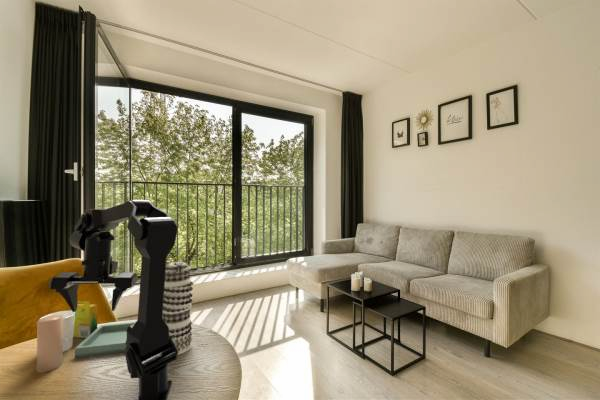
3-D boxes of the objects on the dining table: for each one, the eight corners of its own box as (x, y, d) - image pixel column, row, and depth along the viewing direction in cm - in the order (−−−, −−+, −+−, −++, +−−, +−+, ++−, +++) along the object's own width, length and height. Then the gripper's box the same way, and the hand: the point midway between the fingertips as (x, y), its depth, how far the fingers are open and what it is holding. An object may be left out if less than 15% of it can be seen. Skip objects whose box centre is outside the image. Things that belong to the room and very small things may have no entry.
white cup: (53, 358, 75) (54, 322, 76) (31, 355, 77) (32, 320, 77) (81, 344, 83) (82, 311, 83) (61, 341, 85) (61, 309, 85)
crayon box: (97, 334, 89) (98, 298, 90) (89, 338, 86) (89, 302, 87) (78, 332, 91) (78, 297, 91) (69, 337, 88) (70, 300, 88)
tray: (134, 350, 79) (135, 341, 79) (74, 357, 75) (75, 348, 76) (150, 328, 94) (150, 320, 94) (100, 333, 90) (100, 325, 90)
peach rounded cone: (55, 370, 70) (55, 321, 70) (31, 373, 69) (32, 323, 69) (66, 359, 75) (67, 314, 75) (44, 362, 73) (45, 316, 74)
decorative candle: (178, 358, 75) (178, 267, 75) (151, 354, 77) (151, 266, 78) (199, 342, 84) (199, 261, 84) (174, 338, 86) (174, 259, 86)
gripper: (144, 248, 84) (141, 298, 85) (73, 247, 79) (70, 299, 80) (132, 258, 73) (128, 315, 74) (49, 257, 68) (46, 317, 69)
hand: (94, 310), depth 74 cm, fingers open, 9 cm apart
